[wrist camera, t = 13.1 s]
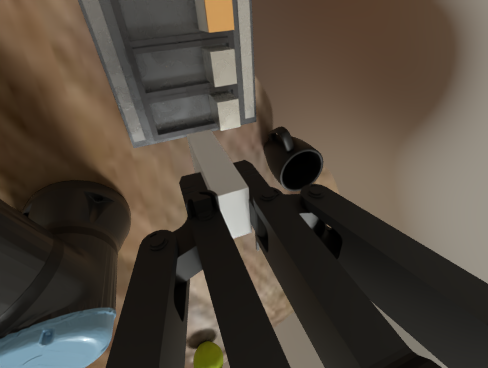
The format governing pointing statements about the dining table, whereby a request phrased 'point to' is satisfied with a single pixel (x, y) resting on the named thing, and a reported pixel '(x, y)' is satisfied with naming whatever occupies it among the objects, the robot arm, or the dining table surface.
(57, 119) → the dining table surface
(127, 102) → the panel
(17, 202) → the dining table surface
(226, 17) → the block
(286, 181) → the mug
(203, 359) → the fruit
